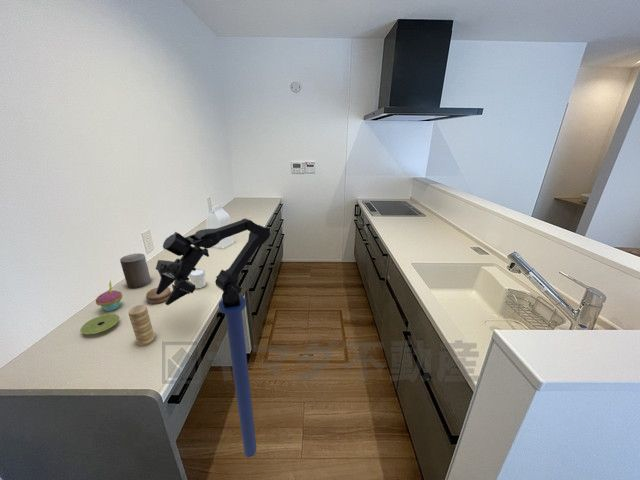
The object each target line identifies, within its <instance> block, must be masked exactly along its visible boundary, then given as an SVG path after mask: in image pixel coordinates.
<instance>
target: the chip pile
mask: <svg viewBox="0 0 640 480" xmlns="http://www.w3.org/2000/svg"><path fill="white" fill-rule="evenodd" d="M157 289H158V286H156V287H154V288H152V289H150V290H148V292H146V295H145V299H146V301H147V303H148V304H150V305H158V304H161V303H164V302H166V301H167V299H168V298H169V296H170V294H171V292H172V290H171V288H170V286H168V287H167V288H166V289H165V290H164V291H163V292H162V293H160V294H159V295H158V294H156V291H157Z"/></svg>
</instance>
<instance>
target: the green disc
mask: <svg viewBox="0 0 640 480" xmlns="http://www.w3.org/2000/svg"><path fill="white" fill-rule="evenodd" d="M119 321H120V316H119V315H118V314H116V313H107V314H103V315H99V316H96V317H93V318H91V319H89V320H88V321H86V322H85V323H84V324H82V326H81V327H80V332H81V334H84V335H94V334H95V335H96V334H98V333H102V332H105V331H107V330H109V329H111V328H112V327H115V325H116V324H117V323H119Z"/></svg>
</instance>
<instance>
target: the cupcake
mask: <svg viewBox="0 0 640 480" xmlns="http://www.w3.org/2000/svg"><path fill="white" fill-rule="evenodd" d="M108 287H109V290H106V291H104V292H103V293H101V294H99V295H98V296H97V298H96V299H95V304H96V305H97V306H100V307H102V308H103V309H104V311H106V312H111V311H115V310H116V309H118V308H119V307H120V303H121V300H122V299H123V294H122V292H121V291H118V290H113V288H112V282H111V280H109V282H108Z"/></svg>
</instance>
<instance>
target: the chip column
mask: <svg viewBox="0 0 640 480" xmlns="http://www.w3.org/2000/svg"><path fill="white" fill-rule="evenodd" d="M127 314H128V317H129V320H130V324H131V327H132V330H133V334H134V337H135V341H136V344H137V345H138V346H146V345H148V344H151V343H152V342H153V341H154V340H155V338H156V336H155V332H154V328H153V325H152V321H151V318H150V314H149V310H148V306H147V305H146V304H139V305H134V306H133V307H131V308H130V309H129V310H128V312H127Z"/></svg>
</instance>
